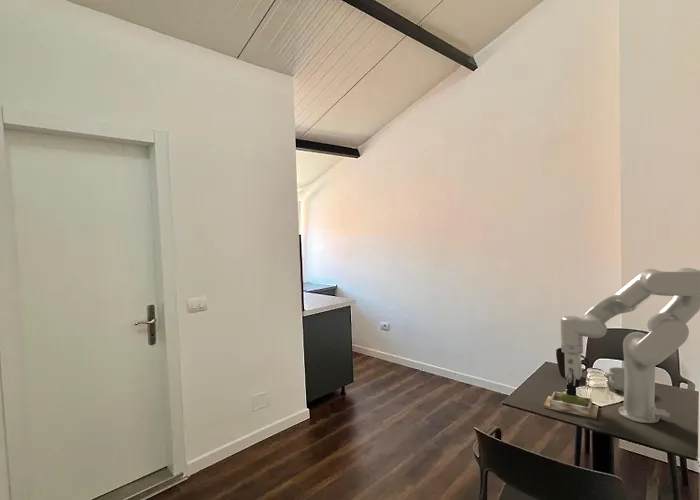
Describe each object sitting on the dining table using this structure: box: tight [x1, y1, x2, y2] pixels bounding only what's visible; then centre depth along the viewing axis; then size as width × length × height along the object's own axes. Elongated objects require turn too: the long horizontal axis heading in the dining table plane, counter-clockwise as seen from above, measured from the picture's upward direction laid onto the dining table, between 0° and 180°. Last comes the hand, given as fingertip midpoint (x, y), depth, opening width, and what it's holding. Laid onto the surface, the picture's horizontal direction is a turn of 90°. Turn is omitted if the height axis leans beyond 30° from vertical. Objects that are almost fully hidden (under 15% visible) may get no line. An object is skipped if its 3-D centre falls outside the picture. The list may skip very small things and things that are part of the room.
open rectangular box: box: [543, 391, 599, 419], centre depth 164 cm, size 18×10×4 cm, turn 55°
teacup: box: [604, 366, 624, 393], centre depth 181 cm, size 14×11×8 cm
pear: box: [560, 390, 588, 407], centre depth 163 cm, size 6×5×10 cm
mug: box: [555, 347, 590, 378], centre depth 197 cm, size 10×14×12 cm
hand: (573, 390), depth 164 cm, fingers open, 9 cm apart
